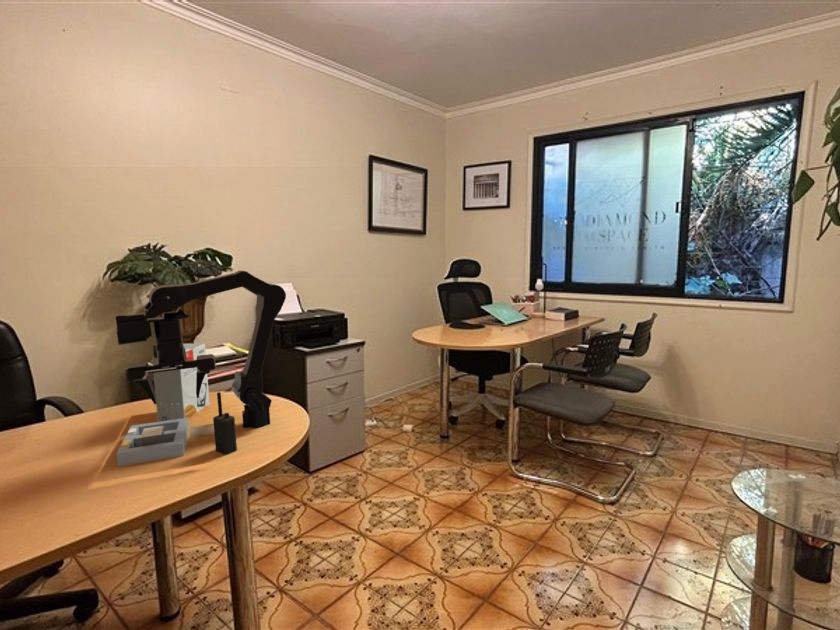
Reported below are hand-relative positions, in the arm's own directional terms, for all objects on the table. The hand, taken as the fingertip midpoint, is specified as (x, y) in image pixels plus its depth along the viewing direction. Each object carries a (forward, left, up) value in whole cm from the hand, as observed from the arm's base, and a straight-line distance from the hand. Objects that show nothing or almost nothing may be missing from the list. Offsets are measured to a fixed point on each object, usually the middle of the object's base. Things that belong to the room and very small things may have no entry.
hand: (177, 400), depth 112 cm
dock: (+5, +1, -12) cm, 13 cm away
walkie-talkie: (-10, +10, -12) cm, 19 cm away
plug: (+5, +4, -11) cm, 12 cm away
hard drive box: (+1, -22, -12) cm, 25 cm away
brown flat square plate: (-5, -5, -12) cm, 14 cm away
